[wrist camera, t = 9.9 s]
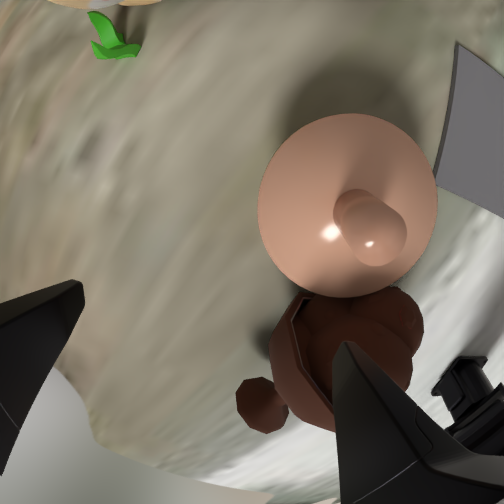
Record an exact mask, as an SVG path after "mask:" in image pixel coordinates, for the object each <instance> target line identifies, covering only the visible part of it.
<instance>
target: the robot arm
mask: <svg viewBox="0 0 504 504" xmlns="http://www.w3.org/2000/svg"><path fill="white" fill-rule="evenodd" d="M84 306H85V297H84V289H83V284H82V283H81V282H80V281H77V280H73V279H71V280H68V281H65V282H62V283H59V284H56V285H53V286H50V287H47V288H44V289H41V290H38V291H35V292H32V293H29V294H26V295H23V296H20V297H17V298H15V299H12V300H9V301H6V302H3V303H0V475H1V476H2V474H3V472H4V469H5V466H6V464H7V461H8V458H9V456H10V453H11V451H12V448H13V446H14V444H15V441H16V439H17V437H18V434H19V432H20V429H21V427H22V425H23V423H24V421H25V419H26V417H27V414H28V412H29V410H30V408H31V406H32V404H33V402H34V400H35V398H36V396H37V394H38V392H39V391H40V389H41V387H42V385H43V383H44V381H45V379H46V378H47V375H48V374H49V372H50V370H51V369H52V367H53V365H54V363H55V362H56V360H57V358H58V356H59V355H60V353H61V351H62V350H63V348H64V346H65V345H66V343H67V341H68V339H69V337H70V335H71V333H72V331H73V329H74V327H75V325H76V323H77V321H78V319H79V317H80V315H81V313H82V311H83V309H84ZM487 361H488V359H487V357H458V358H457V359H456V360H455V362H454V363H453V365H452V366H451V367H450V369H449V370H448V371H447V373H446V374H445V375H444V377H443V378H442V379H441V381H440V382H439V383H438V384H437V386H436V387H435V388H434V389H433V391H432V392H431V395H432V396H442V398H443V400H444V402H445V405H446V407H447V409H448V411H450V413H451V415H452V417H453V420H454V422H455V423H453V424H452V425H451V426H449V427H447V428H445V429H442V428H441V427H440V426H439V425H438V424H437V423H436V422H434V421H433V420H432V419H431V418H430V417H429V416H428V415H427V414H426V413H425V412H424V411H423V410H422V409H421V408H420V407H419V406H417V404H416V403H415V402H414V401H413V400H412V399H411V398H410V397H409V396H408V395H407V394H406V393H405V392H404V391H403V390H402V389H401V388H400V387H399V386H398V385H397V384H396V383H395V382H394V381H393V380H392V379H391V378H390V377H389V376H388V375H387V374H386V373H385V372H384V371H383V370H382V369H381V368H380V367H379V366H378V365H377V364H376V363H375V362H374V361H373V360H372V359H371V358H370V357H369V356H368V355H367V354H366V353H365V352H364V351H363V350H362V349H361V348H360V347H359V346H358V345H357V344H356V343H355V342H351V341H343V342H342V343H341V345H340V346H339V348H338V350H337V352H336V354H335V356H334V358H333V362H332V400H333V412H334V421H335V431H336V442H337V453H338V466H339V480H340V499H341V504H504V401H503V400H504V385H503V384H502V383H500V384H499V385H498V386H497V387H496V388H495V389H494V388H493V387H492V385H491V383H490V381H489V380H488V378H487V377H486V375H485V373H484V372H483V370H482V368H483V366H484V365H485V364H486V362H487Z"/></svg>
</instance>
